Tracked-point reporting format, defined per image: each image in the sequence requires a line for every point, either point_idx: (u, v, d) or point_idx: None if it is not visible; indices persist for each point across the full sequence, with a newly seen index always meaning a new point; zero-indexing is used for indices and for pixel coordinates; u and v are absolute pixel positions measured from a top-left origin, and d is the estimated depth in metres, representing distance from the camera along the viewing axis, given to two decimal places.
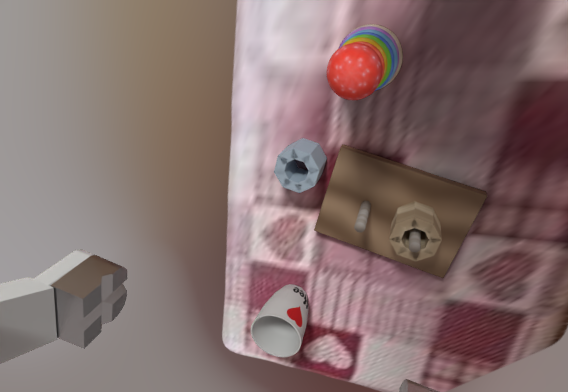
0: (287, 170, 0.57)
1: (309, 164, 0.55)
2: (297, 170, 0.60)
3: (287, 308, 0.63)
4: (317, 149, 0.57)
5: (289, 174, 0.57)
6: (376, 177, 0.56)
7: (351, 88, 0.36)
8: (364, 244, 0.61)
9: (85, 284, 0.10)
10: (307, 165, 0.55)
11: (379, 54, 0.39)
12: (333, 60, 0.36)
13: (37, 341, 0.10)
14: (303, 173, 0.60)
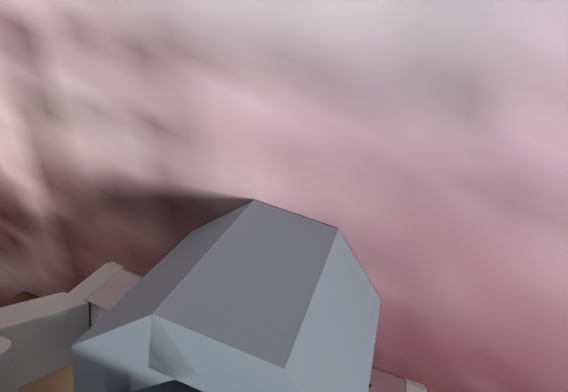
0: None
1: None
2: None
3: None
4: None
5: None
6: None
7: None
8: None
9: (119, 298, 0.10)
10: None
11: None
12: None
13: (70, 356, 0.10)
14: None
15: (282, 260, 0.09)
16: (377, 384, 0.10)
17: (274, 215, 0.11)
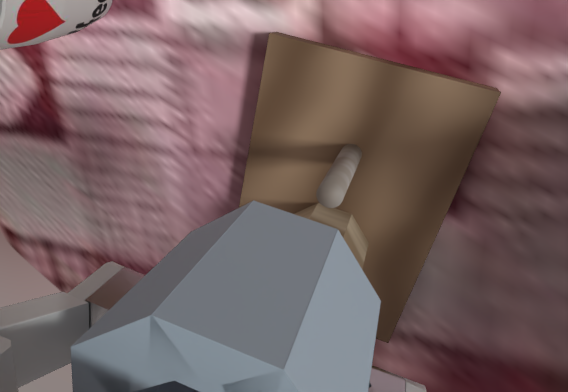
0: None
1: None
2: None
3: None
4: None
5: None
6: (419, 174, 0.26)
7: None
8: (259, 151, 0.29)
9: (119, 298, 0.10)
10: None
11: None
12: None
13: (70, 356, 0.10)
14: None
15: (281, 260, 0.09)
16: (377, 384, 0.10)
17: (273, 216, 0.11)
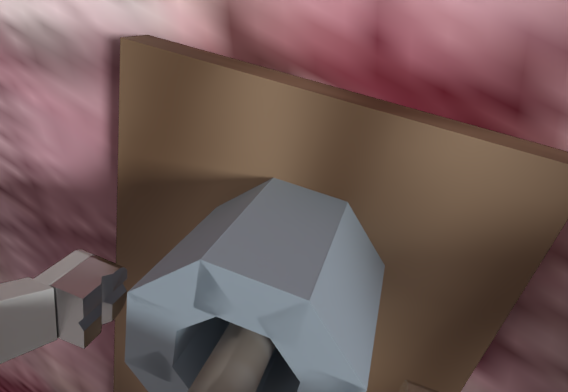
0: None
1: None
2: None
3: None
4: None
5: None
6: (416, 310, 0.14)
7: None
8: (132, 247, 0.16)
9: (85, 284, 0.10)
10: None
11: None
12: None
13: (37, 341, 0.10)
14: None
15: (301, 224, 0.11)
16: None
17: (292, 190, 0.13)
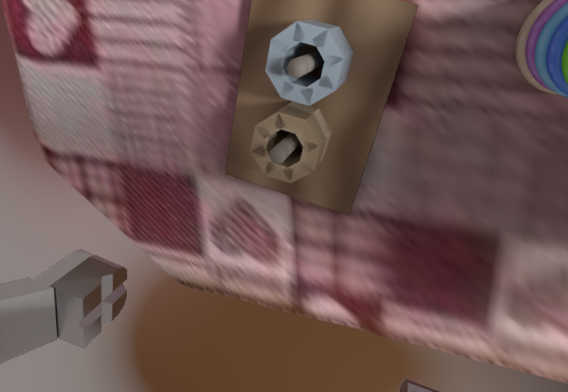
0: (300, 42, 0.33)
1: (317, 88, 0.33)
2: (298, 49, 0.36)
3: None
4: None
5: (294, 47, 0.33)
6: (365, 71, 0.36)
7: None
8: (250, 61, 0.39)
9: (85, 284, 0.10)
10: (315, 85, 0.33)
11: None
12: None
13: (37, 341, 0.10)
14: None
15: (324, 24, 0.33)
16: None
17: None
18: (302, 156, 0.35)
